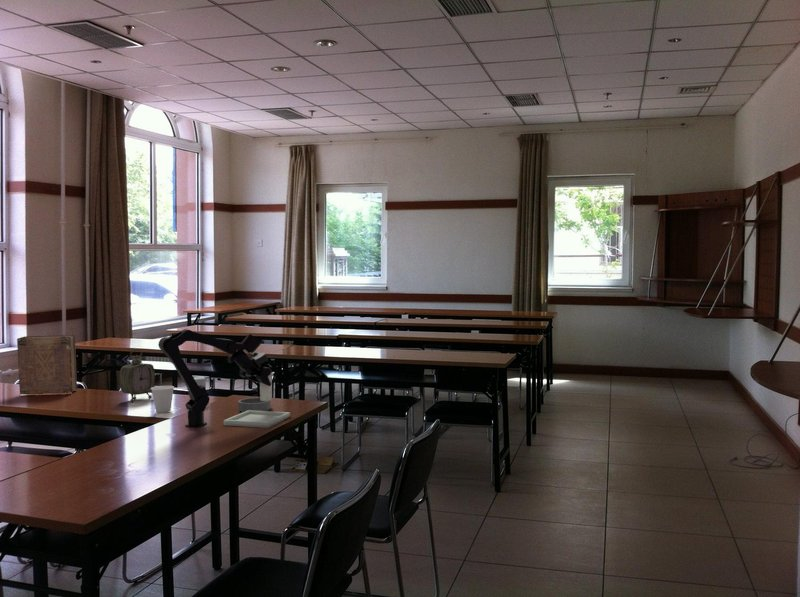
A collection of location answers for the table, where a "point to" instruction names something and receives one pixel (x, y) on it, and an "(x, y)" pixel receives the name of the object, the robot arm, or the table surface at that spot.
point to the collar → (253, 404)
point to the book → (47, 364)
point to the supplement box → (200, 381)
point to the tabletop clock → (137, 377)
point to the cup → (162, 398)
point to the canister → (266, 390)
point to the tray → (257, 418)
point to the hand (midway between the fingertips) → (267, 384)
